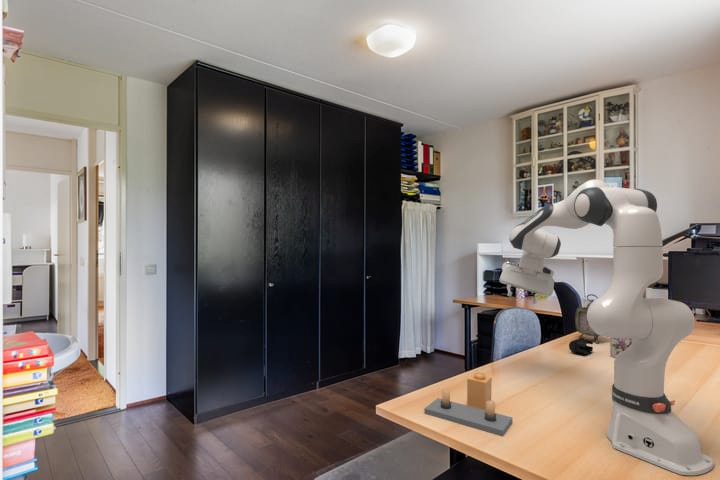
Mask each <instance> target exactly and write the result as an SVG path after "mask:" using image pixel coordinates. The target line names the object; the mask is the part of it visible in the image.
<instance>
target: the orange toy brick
mask: <svg viewBox="0 0 720 480" xmlns="http://www.w3.org/2000/svg"><path fill="white" fill-rule="evenodd" d="M466 382H467V384H466V385H467V386H466V387H467V390H466V395H467V396H466V402H467V403H466V405H467V406H471V407H475V408H478V409H482V410H486V401H492V376H487V375H486V374H485V373H484V372H474V373H472V374H471V375H469V377H468V378H467V381H466Z"/></svg>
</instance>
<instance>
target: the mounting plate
mask: <svg viewBox="0 0 720 480" xmlns="http://www.w3.org/2000/svg"><path fill="white" fill-rule="evenodd" d="M450 399H451V391H450V390H449V389H442V390H441V398H440V397H437V398H436V399H434V400H433V401H432V402H431V403H429V404H428V405H427V406H426V407H424V412H423V413H424V414H426V415H430V416H432V417H435V418H440V419H444V420H445V421H449V422H454V423H458V424H460V425H463V426H466V427H470V428H474V429H477V430H481V431H484V432H488V433H491V434H495V435H497V436H502V437H504V435H505V434H506V433H507V431H508V429H509V428H510V426H512V424H513V417H512V416H509V415H506V414H501V413H497V412H496V407H495V406H496V403H495V401H493V400H491V401H486V410H482V409H478V408H475V407H471V406H467V404H464V403H463V404H462V403H460V402H459V403H458V402H455V401H451V400H450Z"/></svg>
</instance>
